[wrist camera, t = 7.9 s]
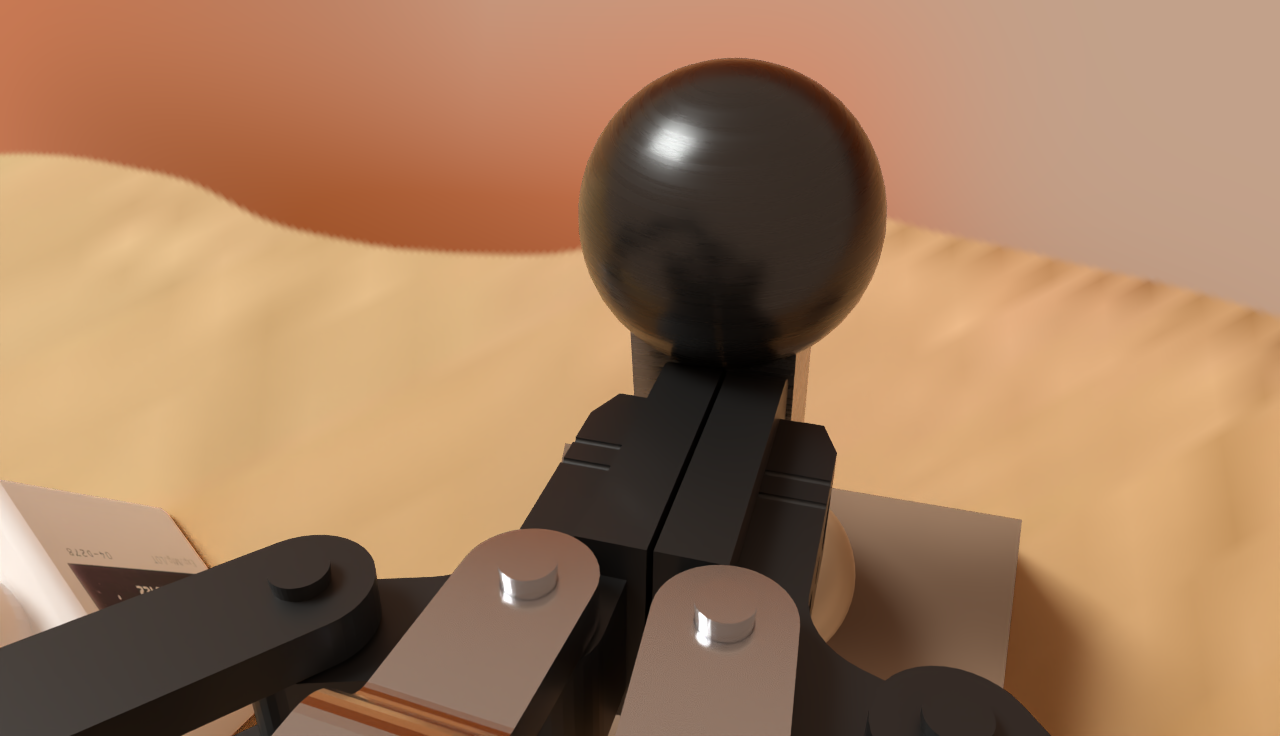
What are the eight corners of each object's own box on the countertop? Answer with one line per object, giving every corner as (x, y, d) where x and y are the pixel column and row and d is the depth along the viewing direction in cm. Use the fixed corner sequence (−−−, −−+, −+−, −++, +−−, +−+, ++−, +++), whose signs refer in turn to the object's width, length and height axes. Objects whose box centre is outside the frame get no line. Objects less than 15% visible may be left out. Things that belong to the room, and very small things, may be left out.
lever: (778, 984, 22) (892, 170, 9) (621, 940, 23) (515, 134, 10) (801, 825, 24) (916, 19, 12) (660, 791, 25) (619, 0, 12)
